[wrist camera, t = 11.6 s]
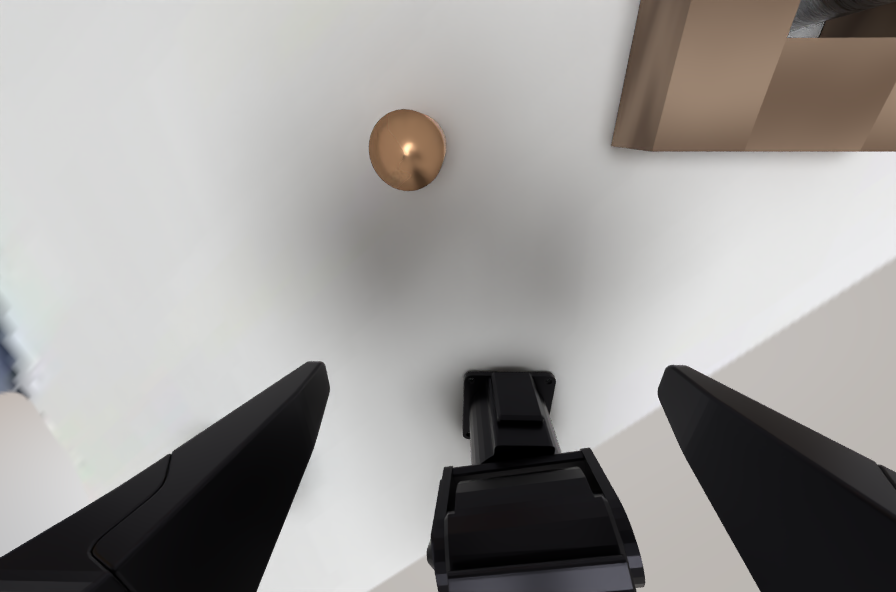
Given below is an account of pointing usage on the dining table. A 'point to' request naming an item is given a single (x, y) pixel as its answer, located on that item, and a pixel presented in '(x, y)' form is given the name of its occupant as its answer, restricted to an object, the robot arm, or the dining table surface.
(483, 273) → the dining table surface
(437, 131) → the short pin
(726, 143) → the hole block
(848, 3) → the long pin
